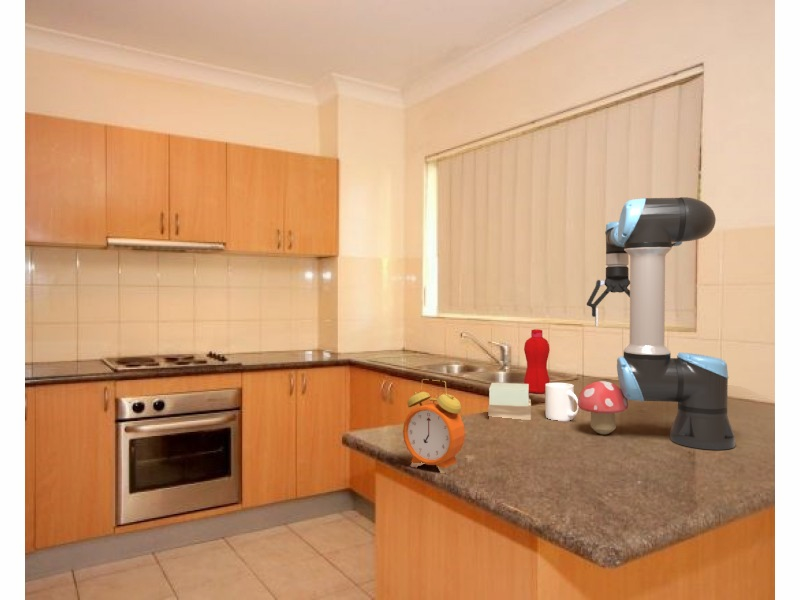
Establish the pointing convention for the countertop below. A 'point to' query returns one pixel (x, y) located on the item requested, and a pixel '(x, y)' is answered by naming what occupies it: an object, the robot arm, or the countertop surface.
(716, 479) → the countertop surface
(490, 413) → the tower base
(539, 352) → the water bottle
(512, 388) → the tower top
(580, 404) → the decorative mushroom
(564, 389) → the mug
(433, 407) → the alarm clock
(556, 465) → the countertop surface
